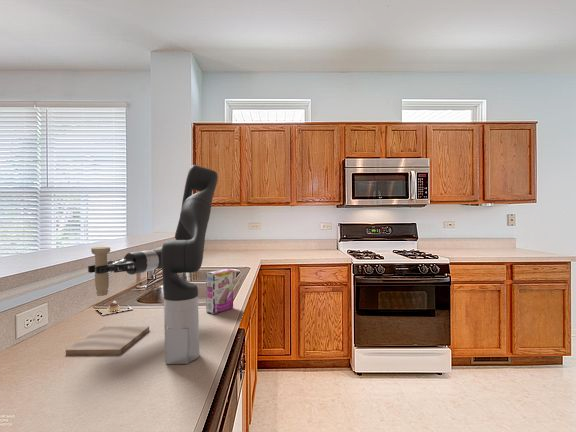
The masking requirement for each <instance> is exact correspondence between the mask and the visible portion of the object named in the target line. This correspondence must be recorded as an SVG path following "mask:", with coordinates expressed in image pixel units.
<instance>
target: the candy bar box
mask: <svg viewBox="0 0 576 432" xmlns="http://www.w3.org/2000/svg"><path fill="white" fill-rule="evenodd" d="M205 275H206V276H205V277H206V282H205V284H206V286H205V288H206V289H205V291H206V292H205V293H206V294H205V295H206V297H205V298H206V299H205V302H206V303H205V305H206V306H205V307H206V309H205V311H206V313H208V314H211V315H216V314H219V313H222V312H225V311H228V310H230V309H233V308H234V270H233V269H226V268H225V269H224V268H223V269H219V270H213V271H208V272H206V274H205Z"/></svg>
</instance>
